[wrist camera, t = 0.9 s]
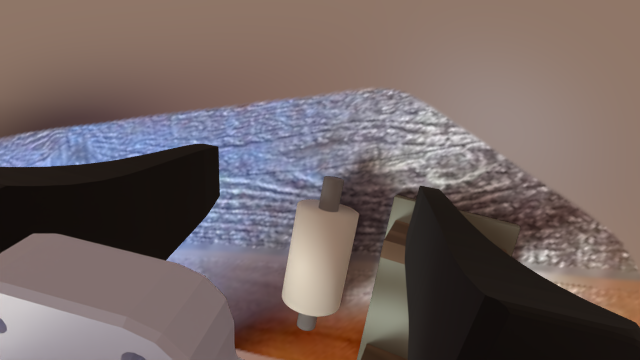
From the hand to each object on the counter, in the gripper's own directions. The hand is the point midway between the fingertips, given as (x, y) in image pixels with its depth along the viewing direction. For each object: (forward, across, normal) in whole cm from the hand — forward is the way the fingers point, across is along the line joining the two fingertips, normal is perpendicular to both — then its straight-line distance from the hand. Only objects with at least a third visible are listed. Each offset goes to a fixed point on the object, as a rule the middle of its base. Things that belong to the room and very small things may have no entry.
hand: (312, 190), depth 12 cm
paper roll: (+12, +1, +13) cm, 18 cm away
